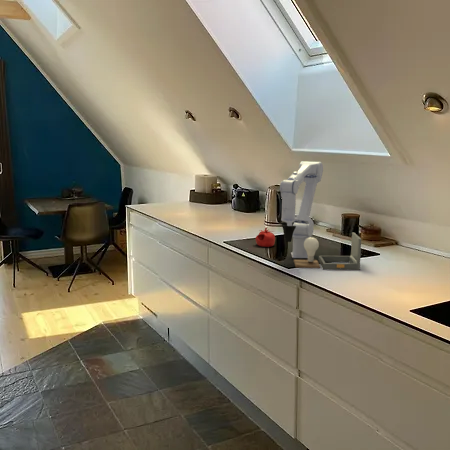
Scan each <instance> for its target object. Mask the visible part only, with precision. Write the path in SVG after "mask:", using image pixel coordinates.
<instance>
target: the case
mask: <svg viewBox="0 0 450 450" xmlns="http://www.w3.org/2000/svg"><path fill="white" fill-rule="evenodd" d="M350 245H351V247H350V248H351V250H350V255H318V263H319V265H320V267H321V268H322V270H332V271H333V270H335V271H337V270H341V271H346V270H347V271H360V270H361V255H362V238H361V237H360V236H359V235H358V234H356V232H351V244H350Z"/></svg>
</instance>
